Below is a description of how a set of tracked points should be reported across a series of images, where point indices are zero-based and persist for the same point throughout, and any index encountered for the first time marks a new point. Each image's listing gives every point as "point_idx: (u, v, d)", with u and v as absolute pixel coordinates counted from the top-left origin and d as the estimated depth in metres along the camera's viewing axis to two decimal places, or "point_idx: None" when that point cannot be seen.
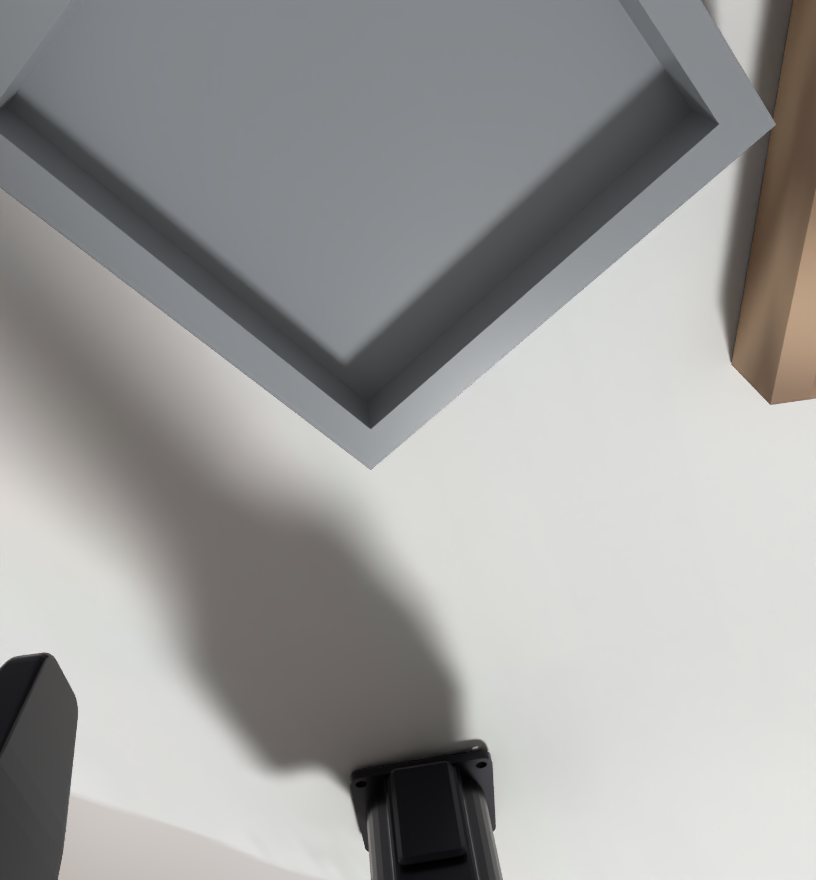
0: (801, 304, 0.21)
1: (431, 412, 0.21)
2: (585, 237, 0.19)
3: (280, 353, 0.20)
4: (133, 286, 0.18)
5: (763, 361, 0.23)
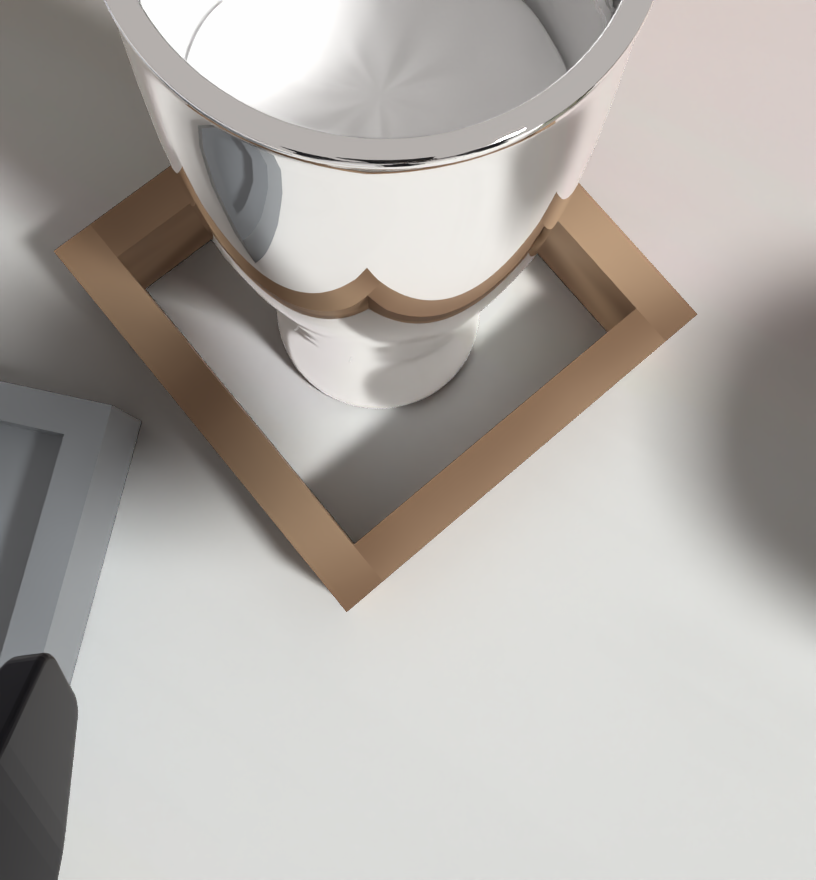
0: (276, 507, 0.20)
1: None
2: None
3: None
4: None
5: None
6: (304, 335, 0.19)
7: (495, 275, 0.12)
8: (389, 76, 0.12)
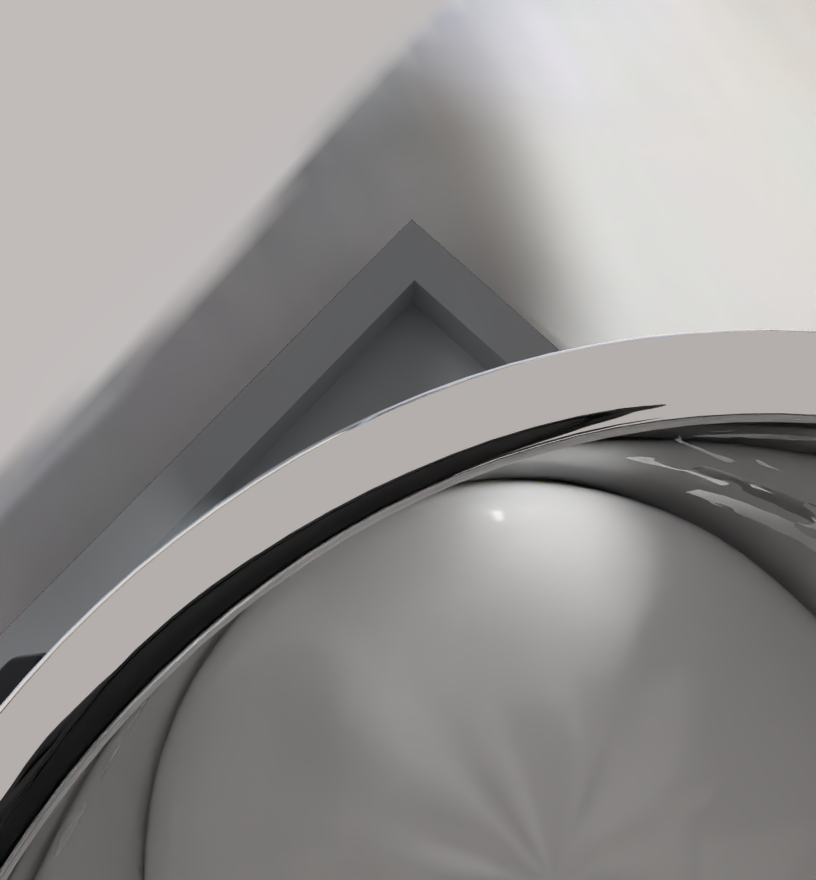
0: None
1: None
2: None
3: None
4: None
5: None
6: None
7: None
8: (571, 838, 0.06)
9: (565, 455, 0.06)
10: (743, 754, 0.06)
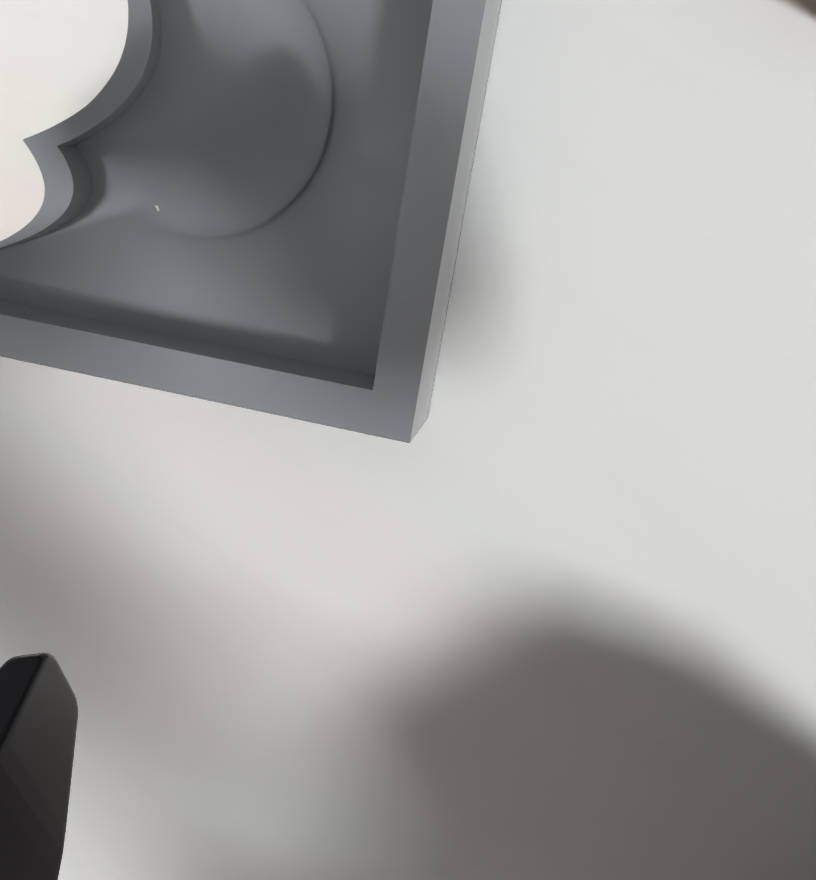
0: None
1: (423, 327, 0.16)
2: None
3: (232, 359, 0.17)
4: (73, 369, 0.18)
5: None
6: None
7: None
8: None
9: None
10: None
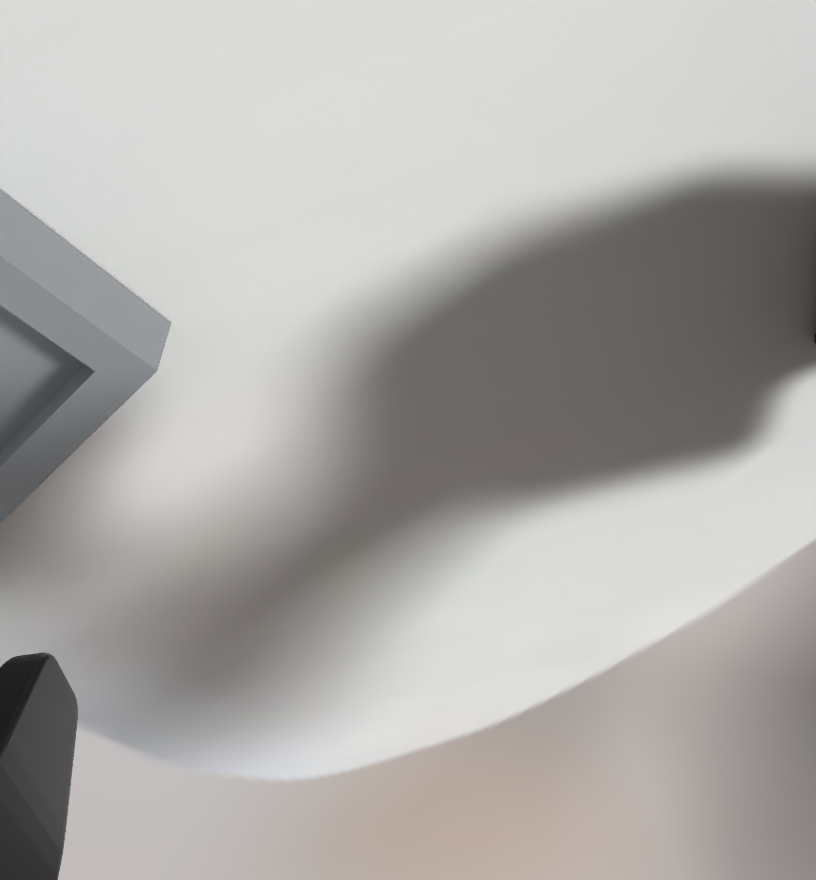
0: None
1: (58, 304, 0.17)
2: None
3: (15, 448, 0.19)
4: None
5: None
6: None
7: None
8: None
9: None
10: None
